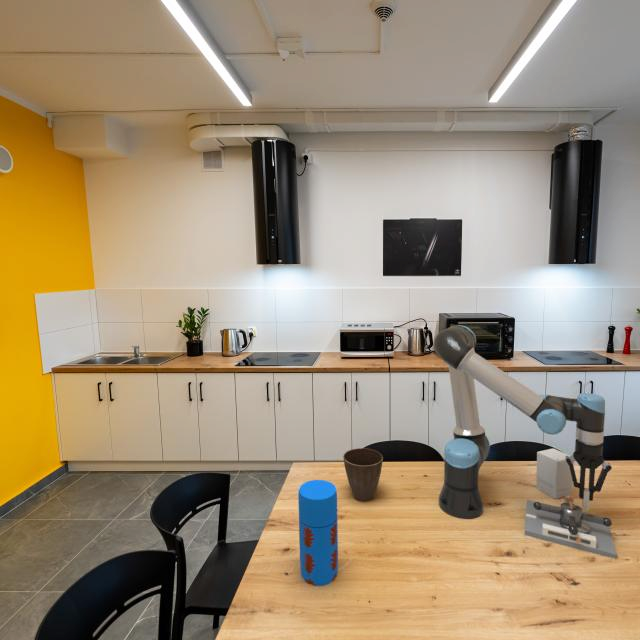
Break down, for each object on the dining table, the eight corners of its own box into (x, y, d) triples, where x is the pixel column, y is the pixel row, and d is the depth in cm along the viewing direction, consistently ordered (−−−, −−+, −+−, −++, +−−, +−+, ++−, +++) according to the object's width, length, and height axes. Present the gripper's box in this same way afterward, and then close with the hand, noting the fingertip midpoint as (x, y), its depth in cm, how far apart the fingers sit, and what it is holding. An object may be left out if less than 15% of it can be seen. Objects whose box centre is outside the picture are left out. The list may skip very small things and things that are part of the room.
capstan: (532, 534, 125) (533, 515, 124) (533, 500, 143) (534, 483, 143) (616, 557, 114) (618, 536, 114) (606, 517, 133) (607, 498, 132)
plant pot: (338, 503, 147) (338, 462, 146) (350, 483, 161) (349, 445, 159) (378, 510, 142) (378, 468, 140) (386, 489, 156) (386, 451, 154)
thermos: (325, 592, 106) (323, 504, 103) (292, 576, 111) (290, 493, 109) (344, 566, 115) (343, 485, 112) (313, 553, 120) (312, 476, 118)
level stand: (524, 535, 127) (524, 524, 127) (526, 503, 145) (526, 493, 144) (616, 560, 115) (617, 548, 115) (606, 521, 133) (607, 511, 133)
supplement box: (573, 494, 150) (575, 457, 148) (555, 499, 147) (557, 461, 145) (551, 483, 158) (553, 447, 157) (534, 487, 155) (536, 451, 154)
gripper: (611, 440, 130) (607, 507, 133) (565, 433, 137) (562, 497, 139) (615, 449, 124) (610, 519, 126) (566, 441, 130) (563, 508, 133)
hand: (585, 508), depth 133 cm, fingers closed
